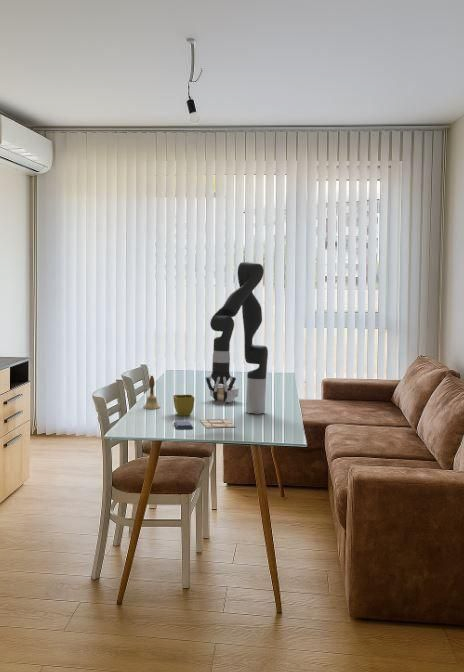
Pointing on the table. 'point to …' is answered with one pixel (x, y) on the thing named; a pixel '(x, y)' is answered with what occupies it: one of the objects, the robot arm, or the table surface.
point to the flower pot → (183, 404)
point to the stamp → (220, 396)
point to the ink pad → (183, 425)
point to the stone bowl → (229, 393)
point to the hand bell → (151, 397)
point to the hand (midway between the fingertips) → (219, 399)
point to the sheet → (217, 423)
